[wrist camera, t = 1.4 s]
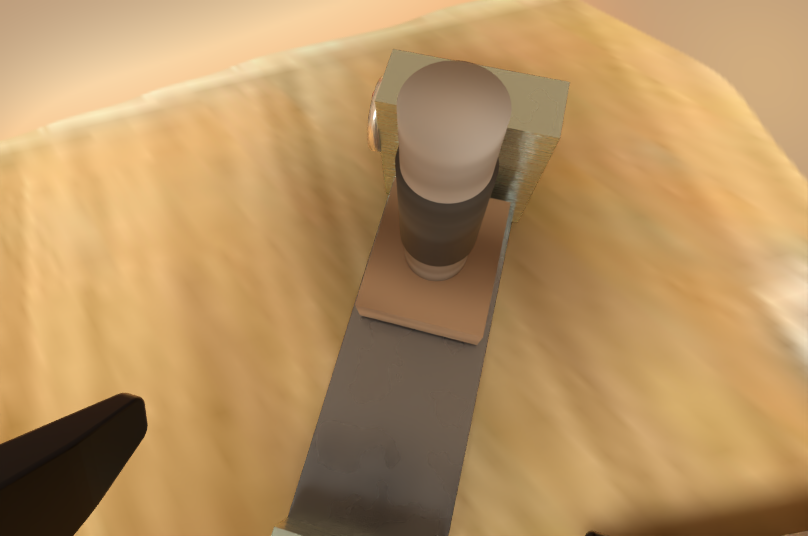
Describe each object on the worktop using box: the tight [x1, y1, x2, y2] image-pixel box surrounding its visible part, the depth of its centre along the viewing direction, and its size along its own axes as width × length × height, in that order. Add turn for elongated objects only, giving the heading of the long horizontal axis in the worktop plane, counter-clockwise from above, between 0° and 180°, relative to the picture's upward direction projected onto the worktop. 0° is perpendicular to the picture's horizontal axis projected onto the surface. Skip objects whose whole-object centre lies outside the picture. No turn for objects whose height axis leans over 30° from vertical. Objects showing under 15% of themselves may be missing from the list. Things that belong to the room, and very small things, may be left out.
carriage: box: [355, 60, 512, 345], centre depth 17 cm, size 7×6×12 cm
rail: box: [271, 49, 570, 536], centre depth 20 cm, size 22×9×8 cm, turn 165°
